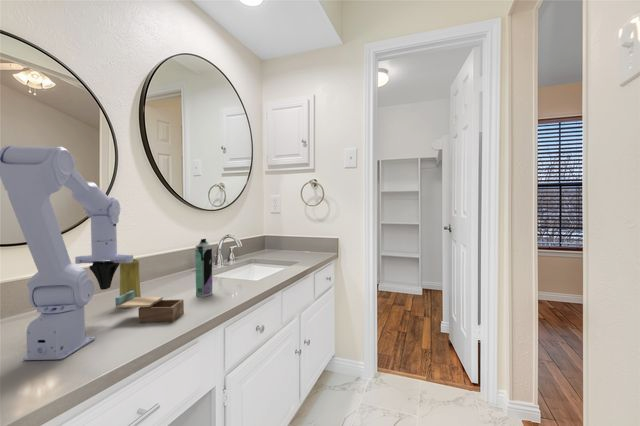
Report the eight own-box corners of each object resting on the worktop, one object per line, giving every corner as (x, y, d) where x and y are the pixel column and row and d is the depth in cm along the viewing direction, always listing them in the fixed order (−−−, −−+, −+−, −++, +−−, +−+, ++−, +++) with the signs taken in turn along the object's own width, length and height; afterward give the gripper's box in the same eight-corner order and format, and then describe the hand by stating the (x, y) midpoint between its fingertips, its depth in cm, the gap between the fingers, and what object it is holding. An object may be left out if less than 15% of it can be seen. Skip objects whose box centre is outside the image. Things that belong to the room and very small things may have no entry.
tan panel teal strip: (149, 307, 79) (149, 297, 79) (115, 307, 79) (115, 298, 78) (162, 298, 86) (162, 290, 86) (131, 299, 86) (131, 290, 85)
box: (172, 322, 79) (172, 307, 79) (138, 323, 79) (138, 308, 79) (183, 313, 86) (183, 299, 86) (152, 313, 86) (152, 300, 86)
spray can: (212, 295, 103) (211, 239, 103) (195, 297, 101) (195, 239, 101) (212, 291, 108) (211, 237, 108) (196, 293, 106) (195, 238, 106)
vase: (130, 308, 90) (129, 262, 90) (113, 307, 92) (112, 262, 91) (145, 302, 96) (145, 259, 96) (130, 301, 97) (129, 258, 97)
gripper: (139, 238, 86) (140, 284, 86) (88, 238, 85) (89, 285, 86) (123, 241, 79) (125, 291, 79) (68, 241, 78) (69, 292, 78)
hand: (105, 288), depth 82 cm, fingers closed
